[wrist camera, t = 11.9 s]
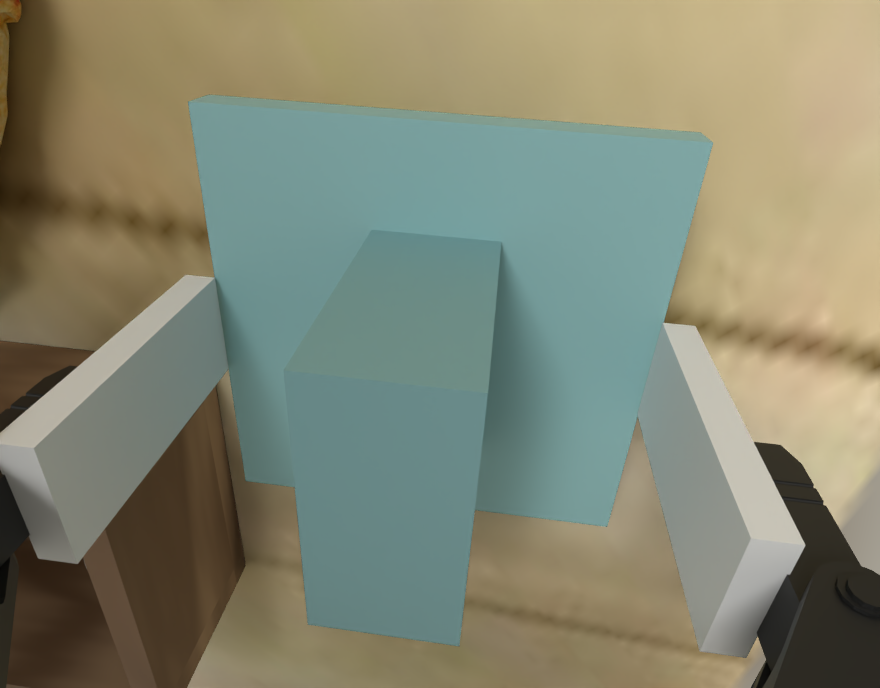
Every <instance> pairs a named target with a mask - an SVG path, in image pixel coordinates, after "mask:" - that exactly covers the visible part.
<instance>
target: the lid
mask: <svg viewBox="0 0 880 688" xmlns="http://www.w3.org/2000/svg"><path fill="white" fill-rule="evenodd" d="M188 105H189V112H190V118H191V125H192V131H193V138H194V145H195V151H196V158H197V164H198V171H199V177H200V184H201V191H202V197H203V204H204V210H205V217H206V223H207V230H208V237H209V243H210V250H211V256H212V263H213V269H214V276H215V282H216V288H217V295H218V301H219V308H220V315H221V321H222V328H223V334H224V341H225V348H226V354H227V361H228V367H229V375H230V381H231V388H232V394H233V401H234V408H235V414H236V421H237V427H238V434H239V440H240V447H241V454H242V460H243V467H244V473H245V480H246V481H249V482H257V483H265V484H273V485H281V486H289V487H295V496H296V506H297V517H298V527H299V537H300V548H301V558H302V568H303V579H304V589H305V599H306V610H307V620H308V625H315V626H322V627H329V628H336V629H343V630H350V631H357V632H364V633H370V634H377V635H384V636H391V637H398V638H405V639H412V640H419V641H426V642H433V643H440V644H447V645H454V646H459V644H460V636H461V627H462V618H463V609H464V600H465V592H466V583H467V574H468V565H469V556H470V548H471V539H472V530H473V521H474V512H475V510H478V511H486V512H494V513H502V514H510V515H518V516H526V517H534V518H542V519H550V520H557V521H565V522H573V523H581V524H589V525H597V526H605V527H607V526H608V522H609V518H610V515H611V511H612V508H613V504H614V500H615V497H616V493H617V489H618V486H619V482H620V479H621V475H622V471H623V468H624V464H625V460H626V457H627V453H628V450H629V446H630V442H631V439H632V435H633V431H634V428H635V424H636V421H637V417H638V415H637V414H638V410H639V406H640V403H641V399H642V395H643V392H644V388H645V384H646V381H647V377H648V374H649V370H650V366H651V363H652V359H653V355H654V352H655V348H656V344H657V341H658V337H659V334H660V330H661V326H662V323H664V319H665V315H666V312H667V308H668V305H669V301H670V297H671V294H672V290H673V286H674V283H675V279H676V276H677V272H678V268H679V265H680V261H681V257H682V254H683V250H684V247H685V243H686V239H687V236H688V232H689V228H690V225H691V221H692V218H693V214H694V210H695V207H696V203H697V199H698V196H699V192H700V189H701V185H702V181H703V178H704V174H705V170H706V167H707V163H708V160H709V156H710V152H711V149H712V145H713V142H712V141H710V140H709V139H708V138H707V137H705V136H704V135H703V134H702V133H700V132H687V131H674V130H661V129H648V128H635V127H622V126H609V125H596V124H583V123H570V122H557V121H544V120H531V119H518V118H505V117H492V116H479V115H466V114H453V113H440V112H427V111H414V110H401V109H389V108H376V107H363V106H350V105H337V104H324V103H311V102H298V101H285V100H272V99H259V98H246V97H233V96H220V95H206V96H203V97H200V98H197V99H194V100H192V101H189V102H188Z"/></svg>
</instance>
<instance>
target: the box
mask: <svg viewBox="0 0 880 688" xmlns="http://www.w3.org/2000/svg"><path fill="white" fill-rule="evenodd" d="M94 352H95V351H87V350H78V349H69V348H60V347H51V346H42V345H33V344H24V343H15V342H6V341H0V413H2V412H3V411H4V410H5V409H7V408H8V409H10V408H11V405H12V404H13V403H14V402H15V401H16V400H18V399H19V398H20V397H21V396H26V392H27V391H29V390H30V389H31V388H32V387H34V386H35V385H36V384H37V383H39V382H40V381H41V380H42V379H43V378H45V377H47V376H49V375H51V374H53V373H55V372H57V371H59V370H61V369H63V368H66V367H68V366H79V365H80V364H82V363H83V362H84V361H85V360H86V359H87V358H89V357H90V356H91V355H92V354H93V353H94ZM14 554H15V556H16V558H17V561H18V566H19V574H18V584H17V593H16V602H15V611H14V620H13V629H12V638H11V648H10V657H9V666H8V675H7V684H6V688H187V686H188V684H189V682H190V680H191V678H192V676H193V674H194V672H195V669H196V667H197V665H198V663H199V661H200V659H201V657H202V655H203V653H204V651H205V649H206V647H207V645H208V642H209V640H210V638H211V636H212V634H213V632H214V630H215V628H216V626H217V624H218V622H219V620H220V618H221V616H222V613H223V611H224V609H225V607H226V605H227V603H228V601H229V599H230V597H231V595H232V593H233V591H234V589H235V586H236V584H237V582H238V580H239V578H240V576H241V574H242V572H243V570H244V568H245V566H246V565H245V559H244V553H243V547H242V541H241V535H240V529H239V523H238V517H237V511H236V505H235V499H234V493H233V487H232V481H231V475H230V469H229V463H228V457H227V451H226V445H225V439H224V433H223V428H222V422H221V416H220V410H219V404H218V398H217V392H216V386H215V387H214V388H213V389H212V391H211V392H210V393H209V395H208V396H207V397H206V399H205V400H204V401H203V402H202V404H201V405H200V406H199V408H198V409H197V410H196V411H195V413H194V414H193V415H192V417H191V418H190V419H189V421H188V422H187V423H186V424H185V426H184V427H183V428H182V430H181V431H180V432H179V433H178V435H177V436H176V437H175V439H174V440H173V441H172V443H171V444H170V445H169V446H168V448H167V449H166V450H165V452H164V453H163V454H162V455H161V457H160V458H159V459H158V461H157V462H156V463H155V465H154V466H153V467H152V468H151V470H150V471H149V472H148V474H147V475H146V476H145V477H144V479H143V480H142V481H141V483H140V484H139V485H138V487H137V488H136V489H135V490H134V492H133V493H132V494H131V496H130V497H129V498H128V499H127V501H126V502H125V503H124V505H123V506H122V507H121V509H120V510H119V511H118V512H117V514H116V515H115V516H114V518H113V519H112V520H111V521H110V523H109V524H108V525H107V527H106V528H105V529H104V531H103V532H102V533H101V534H100V536H99V537H98V538H97V540H96V541H95V542H94V543H93V545H92V546H91V547H90V549H89V550H88V551H87V552H86V554H85V555H84V556H83V558H82V559H81V560H80V562H79V563H78V564H74V563H67V562H59V561H52V560H45V559H38V557H37V555H36V552H35V550H34V548H33V545H32V543H31V541H30V538H29V536H28V537H27V538H26V540H25V541H24V542H23V543H22V544H21V545H20V546H19V547H18V548H17V550H16V551H15V552H14ZM83 559H84V560H83ZM84 562H85V564H84ZM85 565H86V566H85ZM86 567H87V568H86Z"/></svg>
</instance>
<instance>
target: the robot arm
mask: <svg viewBox="0 0 880 688" xmlns="http://www.w3.org/2000/svg"><path fill="white" fill-rule="evenodd" d="M228 369H229V367H228V361H227V354H226V348H225V341H224V334H223V328H222V321H221V315H220V308H219V301H218V295H217V288H216V282H215V278H214V277H204V276H194V275H185V276H184V277H183V278H181V279H180V280H179V281H178V282H177V283H176V284H174V285H173V286H172V287H171V288H170V289H168V290H167V291H166V292H165V293H164V294H163V295H161V296H160V297H159V298H158V299H157V300H156V301H154V302H153V303H152V304H151V305H150V306H149V307H147V308H146V309H145V310H144V311H143V312H141V313H140V314H139V315H138V316H137V317H136V318H134V319H133V320H132V321H131V322H130V323H129V324H127V325H126V326H125V327H124V328H123V329H121V330H120V331H119V332H118V333H117V334H116V335H114V336H113V337H112V338H111V339H110V340H109V341H107V342H106V343H105V344H104V345H103V346H102V347H100V348H99V349H98V350H97V351H96V352H94V353H93V354H92V355H91V356H90V357H89V358H87V359H86V360H85V361H84V362H83V363H82V364H80V365H79V366H68V367H66V368H63V369H61V370H59V371H57V372H55V373H53V374H51V375H49V376H47V377H45V378H43V379H42V380H41V381H40V382H39V383H37V384H36V385H35V386H34V387H32V388H31V389H30V390H29V391H27V392H26V396H21V397H20V398H19V399H18V400H16V401H15V402H14V403H13V404H12V405H11V408H10V409H8V408H7V409H5V410H4V411H3V412H2V413H0V688H6V684H7V675H8V666H9V657H10V648H11V638H12V629H13V620H14V611H15V602H16V593H17V584H18V574H19V566H18V561H17V558H16V556H15V554H14V552H15V551H16V550H17V548H18V547H19V546H20V545H21V544H22V543H23V542H24V541H25V540H26V538H27V537H28V536H29V538H30V541H31V543H32V545H33V548H34V550H35V552H36V555H37V557H38V559H45V560H52V561H59V562H67V563H74V564H78V563H79V562H80V560H81V559H82V558H83V556H84V555H85V554H86V552H87V551H88V550H89V549H90V547H91V546H92V545H93V543H94V542H95V541H96V540H97V538H98V537H99V536H100V534H101V533H102V532H103V531H104V529H105V528H106V527H107V525H108V524H109V523H110V521H111V520H112V519H113V518H114V516H115V515H116V514H117V512H118V511H119V510H120V509H121V507H122V506H123V505H124V503H125V502H126V501H127V499H128V498H129V497H130V496H131V494H132V493H133V492H134V490H135V489H136V488H137V487H138V485H139V484H140V483H141V481H142V480H143V479H144V477H145V476H146V475H147V474H148V472H149V471H150V470H151V468H152V467H153V466H154V465H155V463H156V462H157V461H158V459H159V458H160V457H161V455H162V454H163V453H164V452H165V450H166V449H167V448H168V446H169V445H170V444H171V443H172V441H173V440H174V439H175V437H176V436H177V435H178V433H179V432H180V431H181V430H182V428H183V427H184V426H185V424H186V423H187V422H188V421H189V419H190V418H191V417H192V415H193V414H194V413H195V411H196V410H197V409H198V408H199V406H200V405H201V404H202V402H203V401H204V400H205V399H206V397H207V396H208V395H209V393H210V392H211V391H212V389H213V388H214V387H215V386H216V384H217V383H218V382H219V380H220V379H221V378H222V377H223V375H224V374H225V373H226V371H227V370H228ZM637 415H638V419H639V423H640V427H641V431H642V434H643V438H644V442H645V446H646V450H647V453H648V457H649V461H650V465H651V469H652V472H653V476H654V480H655V484H656V488H657V491H658V495H659V499H660V503H661V507H662V510H663V514H664V518H665V522H666V526H667V529H668V533H669V537H670V541H671V545H672V548H673V552H674V556H675V560H676V564H677V567H678V571H679V575H680V579H681V583H682V586H683V590H684V594H685V598H686V602H687V605H688V609H689V613H690V617H691V621H692V624H693V628H694V632H695V636H696V640H697V643H698V647H699V651H701V652H708V653H715V654H722V655H729V656H736V657H743V658H746V657H747V656H748V654H749V652H750V650H751V648H752V646H753V644H754V642H755V640H756V638H757V637H758V638H759V641H760V644H761V646H762V649H763V652H764V655H765V657H766V661H765V663H764V665H763V667H762V668H761V670H760V672H759V674H758V676H757V677H756V679H755V681H754V683H753V685H752V687H751V688H880V575H878V574H877V573H875V572H874V571H872V570H869V569H867V568H864V567H862V566H861V565H860V563H859V562H858V560H857V558H856V557H855V555H854V553H853V551H852V550H851V548H850V546H849V544H848V543H847V541H846V539H845V538H844V536H843V534H842V532H841V531H840V529H839V527H838V526H837V524H836V522H835V520H834V519H833V517H832V515H831V514H830V512H829V510H828V508H827V507H826V506H825V505H823V500H822V498H821V496H820V495H819V493H818V491H817V489H816V488H813V485H814V484H813V483H812V481H811V479H810V477H809V476H808V474H807V472H806V471H805V469H804V467H803V465H802V464H801V463H800V462H799V461H798V460H797V459H796V458H794V457H793V456H792V455H791V454H790V453H789V452H788V451H787V450H785V449H784V448H783V447H782V446H781V445H776V444H767V443H758V442H753V440H752V438H751V436H750V434H749V432H748V430H747V428H746V426H745V424H744V422H743V420H742V418H741V416H740V414H739V412H738V410H737V408H736V406H735V404H734V402H733V400H732V398H731V396H730V394H729V392H728V390H727V388H726V386H725V384H724V382H723V380H722V378H721V376H720V374H719V372H718V370H717V368H716V366H715V364H714V362H713V360H712V358H711V356H710V354H709V352H708V350H707V349H706V347H705V345H704V343H703V341H702V339H701V337H700V335H699V333H698V331H697V329H696V327H695V326H690V325H680V324H670V323H662V326H661V330H660V334H659V337H658V341H657V344H656V348H655V352H654V355H653V359H652V363H651V366H650V370H649V374H648V377H647V381H646V384H645V388H644V392H643V395H642V399H641V403H640V406H639V410H638V414H637Z"/></svg>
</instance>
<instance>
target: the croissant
mask: <svg viewBox="0 0 880 688" xmlns="http://www.w3.org/2000/svg"><path fill="white" fill-rule="evenodd" d="M20 17H21V3H20V1H19V0H0V146H1V143H2V137H3V133H4V129H5V125H6V120H7V116H8V108H7V82H8V61H9V31H8V26H7V24H6V23H13V22H18V21H19V19H20Z"/></svg>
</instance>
